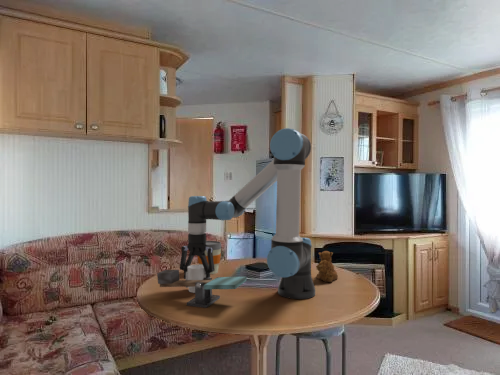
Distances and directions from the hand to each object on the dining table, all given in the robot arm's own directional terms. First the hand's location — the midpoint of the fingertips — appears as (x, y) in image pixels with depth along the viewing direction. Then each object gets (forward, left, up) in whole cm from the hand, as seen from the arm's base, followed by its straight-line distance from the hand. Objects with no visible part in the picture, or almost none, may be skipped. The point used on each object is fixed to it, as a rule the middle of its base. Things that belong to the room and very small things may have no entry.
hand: (196, 287), depth 149 cm
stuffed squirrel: (-49, -36, -1) cm, 61 cm away
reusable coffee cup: (+9, -31, -1) cm, 32 cm away
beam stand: (-9, +12, -1) cm, 15 cm away
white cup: (0, 0, -1) cm, 1 cm away
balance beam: (-8, +12, +5) cm, 15 cm away
